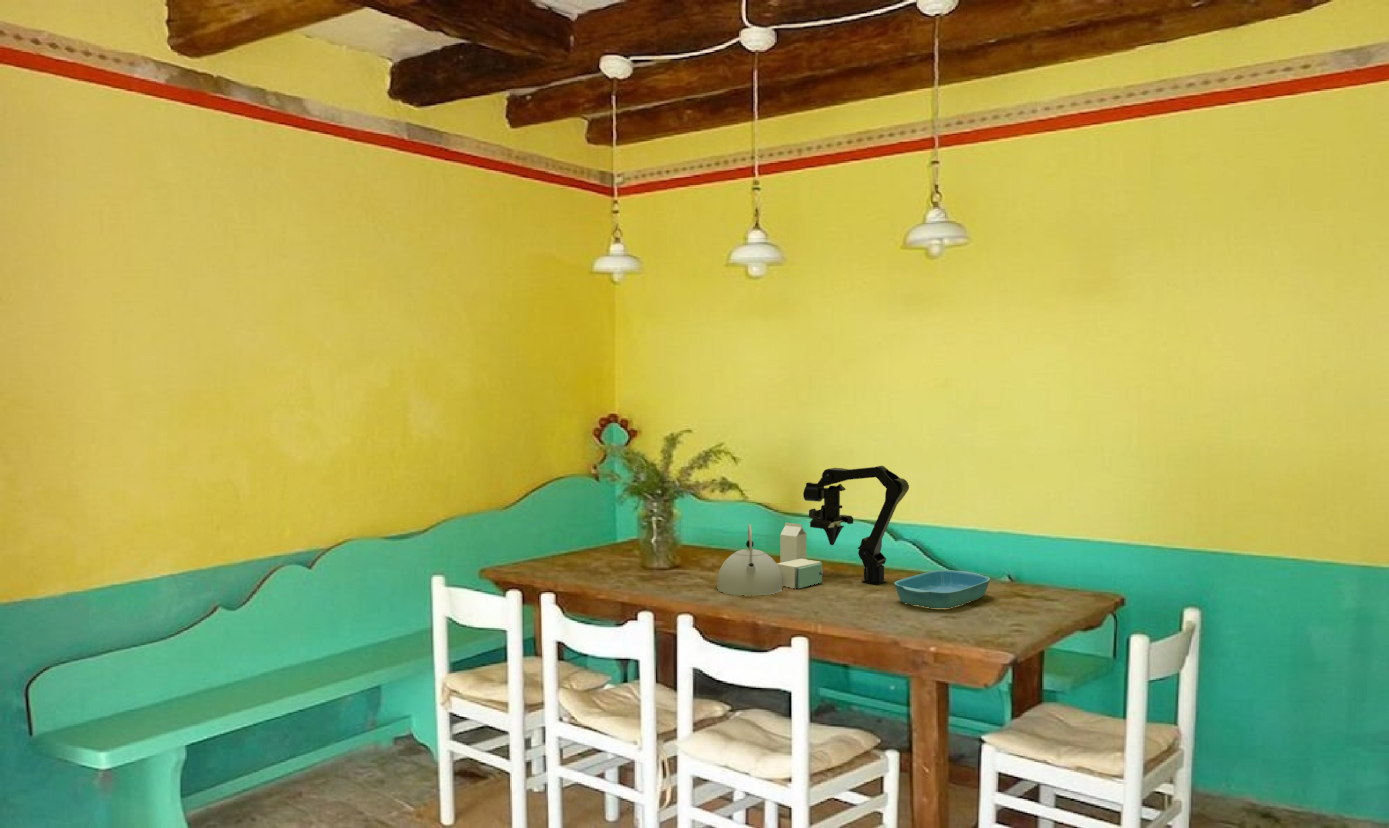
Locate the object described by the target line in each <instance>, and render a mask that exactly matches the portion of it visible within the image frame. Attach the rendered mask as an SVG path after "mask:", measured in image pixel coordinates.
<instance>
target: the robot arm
mask: <svg viewBox="0 0 1389 828" xmlns="http://www.w3.org/2000/svg"><path fill="white" fill-rule="evenodd" d="M871 478H875V479H878V481H879V482H880V484H881V486H883V487H884V488H886V489H885V496H884V498H885V499H884V503H883V505H882V507H881V510H880V512H879V514H878V517H877V518H876V521H875V523H874V526H873V528H872V530H871V532H870V535H869V536H866V537H863V538H861V542H860V545H859V546H858V548H857V550H858V553H857V554H858V556H859V558H860V560H861V561H862V564H863V567H864V568H863V580H861V582H862V583H864V582H865V583H866V584H871V585H880V584H885V583H887V582H888V581H887V580H885V566H884V565H886V562H887V557H885V556H884V554H883V553H882V552H881V550H882V547H883V545H882V544H883V543H882V542H883V541H882V540H883V537H884V535H885V534H886V531H887V529H888V527H889V524H890V522H891V519H892V517H893V515H894V513H895V510H896V509H897V506H898V504H899V503H900V502H901V501H902V500H903V499H904V497H905V496H906V494H907V493H908V491H909V488H910V485H909V483H908V481H907V480H906V479H905V478H902V477H900V476H898V475H897V474H896V473H894V472H892V471H890V470H889V469H888V468H887V467H885V466H884V465H877V466H871V467H860V468H852V469H851V468H849V469H848V468H841V467H831V468H826V469H824V470H823V472H822V474H821V478H820V479H819V480H818V482H817V483H815V482H808V481H807V482H806V483H805V487H804V489H803V499H804V501H806V502H817V503H819V502H822V501H823V504H822V505H821V506H820V509H816V508H811V509H808V517H809V519H811V520H810V521H809V528H814V529H821V530H824V532H825V534H826V536H827V540H828V543H829V545H830V546H834V545H835V543H836V541H837V539H838V537H839V535H840V533H841V531H842V530H843V528H845V526H844V525H842V523H846V524H848V525H852V524H854V517H853V516H852V515H847V514H841V509H843V505H842V504H841V492H844V491H846V489H847V488H845V487H844V486H843V485H842V482H845V481H849V480H860V479H871ZM835 484H838V485H835ZM865 583H864V584H865Z"/></svg>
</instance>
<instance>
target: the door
mask: <svg viewBox="0 0 1389 828" xmlns="http://www.w3.org/2000/svg"><path fill="white" fill-rule="evenodd" d="M824 575H825V572H824V571H823V563H821V564H820V563H819V564H814V565H810V566H806V567H801V568H798V589H802V588H807V587H809V586H810V585H811V586H814V584H815V585H819V584H821V583H823V576H824ZM818 583H819V584H818Z"/></svg>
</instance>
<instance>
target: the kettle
mask: <svg viewBox="0 0 1389 828" xmlns="http://www.w3.org/2000/svg"><path fill="white" fill-rule="evenodd" d="M752 533H753V531H752V525H751V523H749V524H748V525H747V541H746V543H745V546H746V547H747V548H745V549H744V548H743V549H740V550H737V551H735V552H734V553H732V554H731V555H729V556H728V557H727V558H726V559H725V560H724V562H723V563H722V565H721V566H720V569H719V571H718V575H717V587H716V590H717V589H718V590H717V591H718V592H719V593H721V592H723V593H722V594H725V593H726V594H725V595H729V594H730V596H736V595H749V596H748V597H755V596H754V595H767V596H772V595H771V594H773V595H776V594H775V593H777V592H780V593H782V591H783V590H782V588H783V586H782V576H781V572H780V569H779V567H778V565H777V562H776V561H775V559H774V558H773V557H771V556H770V555H769V554H767V553H766V552H765V551H762V550H759V549H756V548H753V547H754V541H753V534H752ZM777 594H778V593H777ZM751 595H753V596H751Z"/></svg>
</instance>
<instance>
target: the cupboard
mask: <svg viewBox="0 0 1389 828" xmlns="http://www.w3.org/2000/svg"><path fill="white" fill-rule="evenodd" d="M819 563H820V564H822V561H818V560H812V559H808V558H806V559H797V560H792V561H787V562H782V563H780V562H778V563H777V562H776V564H777V565H778V567H779V569H780V572H781V576H782V587H783V586H786V587H785V588H788V587H790V589H793V588H798V568H801V567H806V566H810V565H814V564H819ZM798 589H799V588H798Z"/></svg>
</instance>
